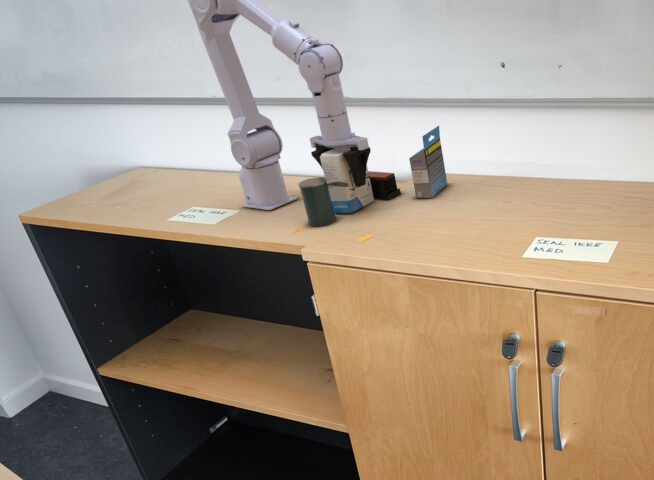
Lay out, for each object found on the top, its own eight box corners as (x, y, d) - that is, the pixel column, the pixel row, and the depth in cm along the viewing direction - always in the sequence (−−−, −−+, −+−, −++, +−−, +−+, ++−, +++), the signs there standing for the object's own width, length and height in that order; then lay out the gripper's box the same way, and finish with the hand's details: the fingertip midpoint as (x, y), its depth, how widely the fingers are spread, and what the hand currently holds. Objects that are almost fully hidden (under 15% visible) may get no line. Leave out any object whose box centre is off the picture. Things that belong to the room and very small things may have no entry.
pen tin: (303, 225, 134) (292, 184, 130) (323, 216, 138) (313, 176, 133) (321, 228, 131) (311, 186, 127) (341, 218, 134) (332, 178, 130)
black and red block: (348, 196, 148) (343, 175, 146) (361, 190, 150) (356, 169, 148) (388, 200, 141) (384, 178, 139) (401, 194, 143) (397, 172, 141)
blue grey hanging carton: (431, 185, 146) (422, 126, 140) (448, 184, 145) (439, 125, 139) (415, 198, 139) (404, 137, 133) (432, 198, 138) (422, 136, 132)
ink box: (351, 214, 136) (338, 155, 130) (332, 213, 138) (318, 155, 132) (375, 200, 142) (363, 143, 136) (356, 199, 144) (343, 143, 139)
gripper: (373, 109, 129) (387, 180, 136) (322, 109, 137) (337, 176, 144) (346, 118, 124) (362, 191, 131) (295, 118, 133) (312, 186, 139)
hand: (347, 184), depth 137 cm, fingers open, 7 cm apart
